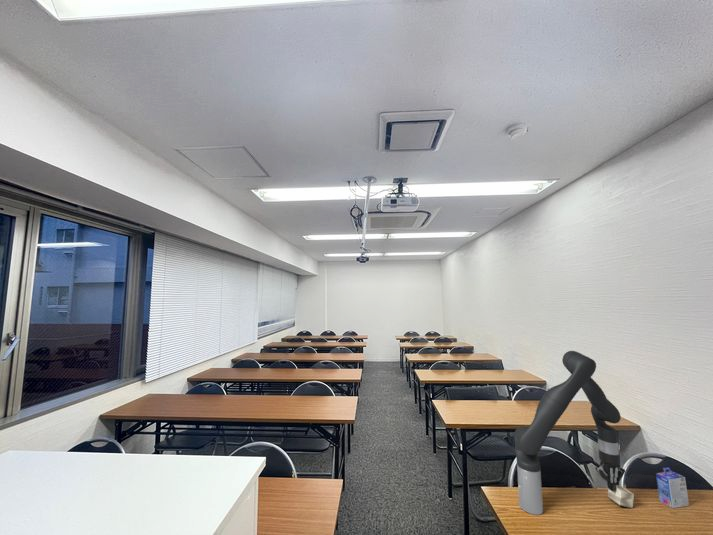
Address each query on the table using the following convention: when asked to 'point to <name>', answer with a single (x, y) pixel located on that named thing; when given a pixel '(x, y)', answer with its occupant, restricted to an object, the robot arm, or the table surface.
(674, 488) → the ink cartridge box
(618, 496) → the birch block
